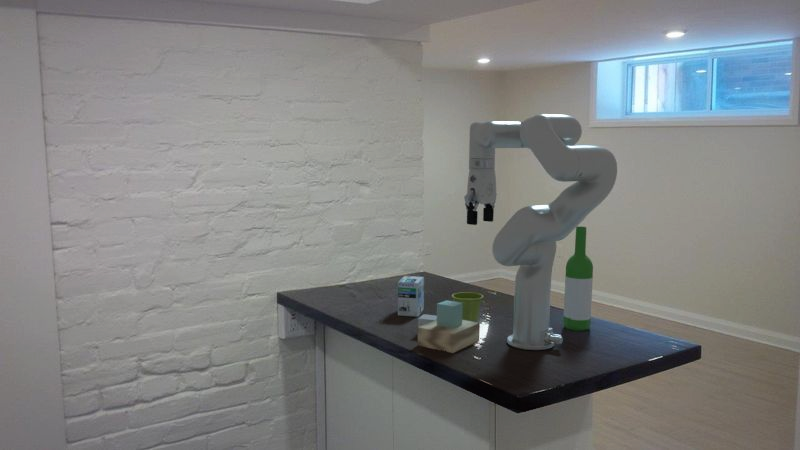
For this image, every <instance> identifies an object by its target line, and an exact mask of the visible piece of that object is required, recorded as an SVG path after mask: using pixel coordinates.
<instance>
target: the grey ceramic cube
mask: <svg viewBox="0 0 800 450" xmlns="http://www.w3.org/2000/svg"><path fill="white" fill-rule="evenodd" d="M435 320H437V314H436V315H434V314H424V313H423V314H422V315H421V316H420V317H419V316H418V318H417V328H418V327H420V326H422V325H425V324H427V323H430V322H433V321H435Z"/></svg>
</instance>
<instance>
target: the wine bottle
mask: <svg viewBox="0 0 800 450" xmlns="http://www.w3.org/2000/svg"><path fill="white" fill-rule="evenodd" d="M574 241H575V242H574V243H575V244H574V254H573V255H570V257H569V258H568V259H567V261H566V265H565V276H564V277H565V278H564V279H565V280H564V296H563V297H564V298H563V299H564V300H563V321H562V322H563V326H564V328H565V329H567V330H571V331H577V332H581V331H582V332H583V331H588V330H589V329H590V328H591V321H592V320H591V318H592V303H593V301H592V300H593V299H592V298H593V278H594V277H593V276H594V275H593V274H594V264H593V262H592V260H591V258H590V257H589V256H588V255H587V254H586V252H587V251H586V248H587V227H586V226H577V227H576V228H575V239H574Z"/></svg>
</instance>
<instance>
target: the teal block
mask: <svg viewBox="0 0 800 450" xmlns="http://www.w3.org/2000/svg"><path fill="white" fill-rule="evenodd" d="M462 305H463V303H460V302H454V301H452V300H447V299H446V300H443V301H441V302H438V303H436V316H437V326H442V327H447V328H452V329H453V328H455V327H458V326H460V325H462Z"/></svg>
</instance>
